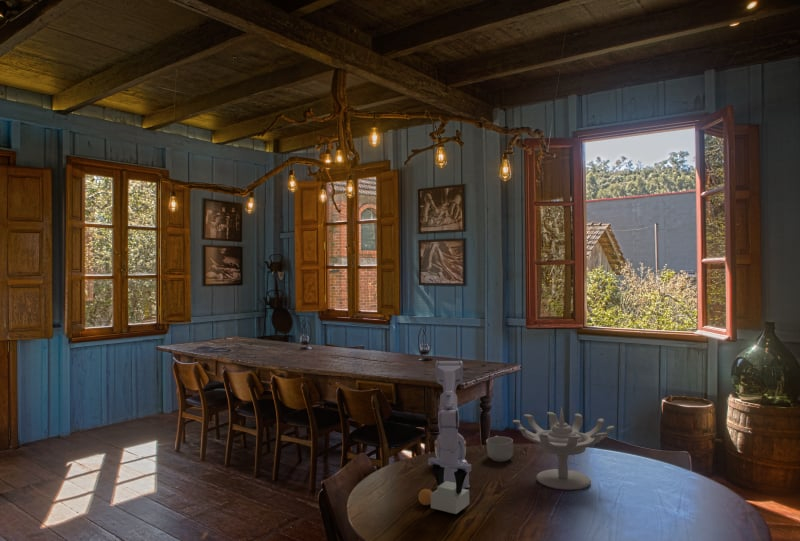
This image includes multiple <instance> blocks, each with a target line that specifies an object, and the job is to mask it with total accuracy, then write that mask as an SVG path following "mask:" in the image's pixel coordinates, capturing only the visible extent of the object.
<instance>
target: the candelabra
mask: <svg viewBox="0 0 800 541" xmlns="http://www.w3.org/2000/svg"><path fill="white" fill-rule="evenodd" d="M546 415H548V422H549V426H550V427H549V429H546V430H545V429H543V428H541V427H540V426H539V425H538V424H537V423H536V421H535V419H534V415H531V414H528V413H527V414H526V413H525V414H523V415H522V416H523V417H524V418H527V421H528V424H529V426H530V427H531V428H532V429H533V431H534V432H535V433H534V432H532V431H529V430H528V429H527V428H525V427H523V425H522V424H521V420H519V419H514V420H512V423H514V424H518V427H517V428H518V430H519V431H520V432H521V434H522V436H523V437H524V438H526V439H528V440H529V441H531V442H534V443H536V444H538V445H539V447H540V449H541V451H544V452H546V453H548V454H552V455H556V456H557V460H558V465H557V466H558V467H557V468H553V469H551V468H550V469H545V470H542V471H540V472H539V473H537V474H536V477H535V478H536V480H537V481H538V483H539V484H541V485H543V486H546V487H547V488H551V489H556V490H564V491H576V490H582V489H584V488H588V486H590V485H591V482H592V479H591V478H590V477H589V476H588V475H586V474H585V473H582V472H579V471H577V470H572V469H569V466H568V459H569V456H575V455H576V456H577V455H581V454H583V453H584V452H585V451H586V448H589V447H592V446H594V445H596V444H598V443H600V441H602V440H604V439H606V438H607V437H608V435H609V434H610V432H609V431H612V430H614V429H615V426H614V425H609V426H606V431H605V432H601V431H602V428H603V423H605V422H604V421H605V419H604V418H598V419H597V421H596V425H595V427H593V428H592V429H591V430H589V431H587V432H585V433H584V432H580V431H581V428H582V427H583V422H584V419H583V415H582V414H580V413H574V421H573V424H572V426H571V425H569V424H568V423H567V422H565V418H564V413H563V407H562V406H560V413H559V418H558V414H556V413H555V412H552V411H547V412H546Z"/></svg>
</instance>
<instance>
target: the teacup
mask: <svg viewBox="0 0 800 541" xmlns="http://www.w3.org/2000/svg"><path fill="white" fill-rule="evenodd" d="M485 443H486V452H487V456H488V457H489V458H490V459H491V460H492V461H495V462H499V463H503V462H507V461H509V460H510V459H511V458H512V457H513V455H514V439H513V438H511V437H508V436H499V435H495V436H492V437H489V438H487V439H486V440H485Z"/></svg>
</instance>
